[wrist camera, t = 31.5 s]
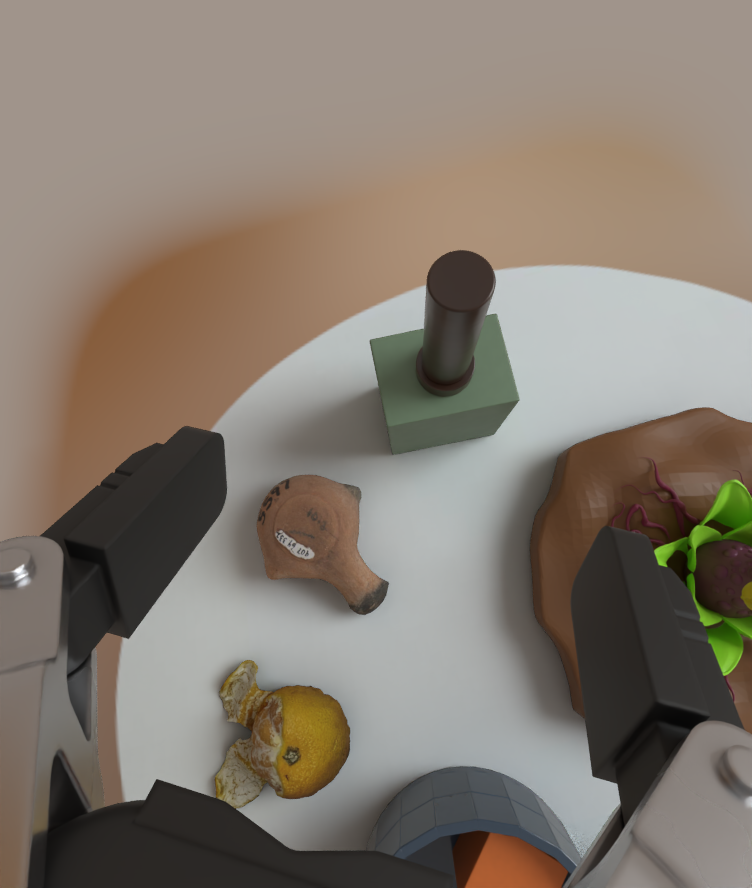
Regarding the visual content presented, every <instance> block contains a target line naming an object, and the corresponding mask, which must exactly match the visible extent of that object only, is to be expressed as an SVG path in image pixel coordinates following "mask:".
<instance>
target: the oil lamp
mask: <svg viewBox="0 0 752 888" xmlns="http://www.w3.org/2000/svg"><path fill="white" fill-rule="evenodd" d="M360 499H361V491H360V489H359V488H358V487H355V486H351V485H347V484H341V483H337V482H335V481H332V480H329V479H327V478H324V477H320V476H317V475H299V476H294V477H291V478H289V479H286V480H284V481H282V482H281V483H279V484H278V485H276V486H275V487H274V488H273V489H272V490H271V491H270V492H269V493H268V495H267V496H266V498H265V499H264V501H263V503H262V505H261V508H260V511H259V515H258V520H257V532H258V538H259V541H260V544H261V549H262V552H263V557H264V562H265V569H266V574H267V576H268V578H270V579H272V580H277V579H282V578H311V579H312V578H317V579H322V580H325V581H327V582H329V583H331V584H332V585H334V586H335V587H336V588H337V589H338V590H339V591H340V592H341V593H342V595H343V596H344V598H345V599H346V601H347V602H348V604H349V606H350V608H351V609H352V610H353V611H354V612H356V613H358V614H362V615H366V614H368V613H371V612H372V611H373V610H375V609H376V608H377V607H378V606H379V605H380V604H381V603H382V602H383V600H384V598H385V596H386V593H387V588H388V585H389V583H388V582H387V581H385V580H383V579H381V578H379V577H378V576H377V575H375V574H374V573H373V572H372V571H371V570H370V569H369V568H368V567H367V565H366V564H365V563H364V561H363V559H362V558H361V556H360V554H359V552H358V549H357V540H358V535H359V502H360Z"/></svg>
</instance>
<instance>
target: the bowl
mask: <svg viewBox="0 0 752 888" xmlns="http://www.w3.org/2000/svg"><path fill="white" fill-rule="evenodd" d="M478 830H479V831H485V832H490V833H496V834H502V835H507V836H513V837H518V838H520V839H521V840H523V841H525V842H527V843H529V844H531V845H532V846H534V847H536V848H538V849H540V850H541V851H543V852H545V853H547V854H549V855H551V856H552V857H554V858H555V859H556V860H557V861H558V862H559V863H560V864H561V865H562V866H563V867H564V868H565V869H566V870H567V871H568V873H567V876H566V878H565V880H564V882H563V885H562V887H561V888H563V886H564V885H565V883H566V882H567V880H568V879H569V877H570V876H571V874H572V873H573V871H574V870H575V868H576V867H577V865H578V864H579V862H580V861H581V859H582V858H581V856H580V855H579V853H578V851H577V849H576V847H575V846H574V844H573V842H572V840H571V838H570V837H569V835H568V833H567V831H566V829H565V828H564V826H563V824H562V822H561V821H560V820H559V819H558V818H557V816H556V815H555V814H554V812H553V811H552V810H551V809H550V808H549V807H548V805H547V804H546V803H545V802H544V801H543V800H542V799H541V798H540V797H539V796H537V795H536V794H535V793H534V792H533V791H531V790H530V789H529V788H527V787H526V786H524V785H523V784H521V783H520V782H518V781H517V780H515V779H512V778H510V777H508V776H506V775H504V774H501V773H498V772H495V771H492V770H489V769H483V768H478V767H453V768H446V769H442V770H438V771H435V772H432V773H430V774H427V775H425V776H423V777H421V778H419V779H417V780H416V781H414V782H412V783H411V784H409V785H408V786H407V787H406V788H404V789H403V790H402V791H401V792H399V793H398V794H397V795H396V797H395V798H394V799H393V800H392V801H391V802H390V803H389V804H388V806H387V807H386V808H385V810H384V811H383V813H382V814H381V816H380V817H379V819H378V821H377V823H376V825H375V827H374V829H373V831H372V834H371V836H370V839H369V842H368V844H367V848H366V851H380V852H383V853H386V854H389V855H392V856H395V857H398V858H401V859H404V860H407V861H411V862H414V863H417V864H420V865H423V866H426V867H429V868H432V869H435V870H438V871H441V872H444V873H447V874H451V875H454V878H453V888H457V882H456V875H455V868H454V860H453V853H452V850H453V848H454V846H455V844H456V842H457V840H458V838H459V835H460V834H461V833H467V832H472V831H478Z"/></svg>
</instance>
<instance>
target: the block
mask: <svg viewBox="0 0 752 888" xmlns="http://www.w3.org/2000/svg"><path fill="white" fill-rule="evenodd" d="M452 853H453V860H454V868H455V875H456V882H457V888H561V887H562V885H563V882H564V880H565V878H566V876H567V873H568V871H567V870H566V869H565V868H564V867H563V866H562V865H561V864H560V863H559V862H558V861H557V860H556V859H555V858H554V857H552V856H551V855H549V854H547V853H545V852H543V851H541V850H540V849H538V848H536V847H534V846H532V845H531V844H529V843H527V842H525V841H523V840H521V839H520V838H518V837H513V836H507V835H502V834H496V833H490V832H485V831H479V830H478V831H472V832H467V833H461V834H460V835H459V838H458V840H457V842H456V844H455V846H454V848H453V850H452Z"/></svg>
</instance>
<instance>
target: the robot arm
mask: <svg viewBox="0 0 752 888" xmlns="http://www.w3.org/2000/svg"><path fill="white" fill-rule="evenodd" d="M226 494H227V481H226V465H225V449H224V440H223V437H222V435H221V434H219V433H215V432H211V431H207V430H202V429H198V428H194V427H189V426H185V427H182V428H181V429H180V430H179V431H178V432H177V433H176V434H174V435H173V437H171V438H170V439H169V440H168V441H167V442H166V443H165V444H160V443H155V444H153V445H151V446H149V447H147V448H145V449H143V450H141V451H138V452H136V453H134V454H132V455H131V456H130V457H129V458H128V459H127V460H126V461H124V462H123V463H122V464H121V465H120V466H119V467H118V468H116V470H115V473H111V474H110V475H108V476H107V477H106V478H105V479H104V480H103V481H102V482H101V485H100V486H98V485H97V486H96V487H95V488H94V489H93V490H91V491H90V492H89V493H88V494H87V495H86V496H85V497H84V498H82V500H80V501H79V502H78V503H77V504H76V505H75V506H73V508H71V509H70V510H69V511H68V512H67V513H65V514H64V515H63V516H62V517H61V518H60V519H59V520H58V521H57V522H55V523H54V524H53V525H52V526H51V527H50V528H49V529H48V530H46V531H45V532H44V533H43V534H42V535H40V536H22V537H16V538H12V539H8V540H5V541H2V542H0V888H453V878H454V875H451V874H447V873H444V872H441V871H438V870H435V869H432V868H429V867H426V866H423V865H420V864H417V863H414V862H411V861H407V860H404V859H401V858H398V857H395V856H392V855H389V854H386V853H383V852H380V851H295V850H292V849H290V848H288V847H286V846H285V845H283V844H282V843H281V842H279V841H278V840H277V839H275V838H274V837H273V836H271V835H270V834H269V833H267V832H266V831H265V830H263V829H262V828H261V827H259V826H258V825H256V824H255V823H254V822H252V821H251V820H250V819H248V818H247V817H246V816H244V815H243V814H242V813H240V812H239V811H238V810H236V809H235V808H234V807H232V806H231V805H230V804H228V803H227V802H226V801H223V800H219V799H216V798H213V797H210V796H207V795H204V794H201V793H198V792H195V791H192V790H189V789H186V788H182V787H179V786H176V785H173V784H170V783H167V782H164V781H161V780H158V779H156V781H155V783H154V785H153V787H152V789H151V791H150V792H149V794H148V796H147V798H146V800H137V801H130V802H124V803H117V804H114V805H110V806H107V807H105V806H104V792H103V783H102V776H101V771H100V766H99V759H98V746H97V654H96V649H95V647H96V645H97V644H98V643H99V642H100V640H101V639H102V638H103V636H104V635H105V634H106V633H111V634H114V635H118V636H121V637H124V638H128V639H129V638H130V636H131V635H132V634H133V632H134V631H135V629H136V628H137V627H138V625H139V624H140V623H141V621H142V620H143V619H144V617H145V616H146V614H147V613H148V612H149V610H150V609H151V608H152V606H153V605H154V604H155V602H156V601H157V599H158V598H159V597H160V595H161V594H162V593H163V591H164V590H165V589H166V587H167V586H168V584H169V583H170V582H171V580H172V579H173V578H174V576H175V575H176V574H177V572H178V571H179V569H180V568H181V567H182V565H183V564H184V563H185V561H186V560H187V559H188V557H189V556H190V555H191V553H192V552H193V550H194V549H195V548H196V546H197V545H198V544H199V542H200V541H201V540H202V538H203V537H204V535H205V534H206V533H207V531H208V530H209V529H210V527H211V526H212V525H213V523H214V522H215V520H216V519H217V518H218V516H219V515H220V513H221V511H222V509H223V506H224V503H225V500H226ZM570 606H571V615H572V622H573V630H574V637H575V645H576V653H577V660H578V668H579V676H580V683H581V691H582V699H583V706H584V714H585V722H586V729H587V737H588V744H589V752H590V760H591V767H592V775H593V777H596V778H600V779H603V780H607V781H610V782H613V783H617V784H618V790H619V796H620V802H621V803H620V804H619V805H618V806H617V807H616V808H615V810H614V811H613V812H612V814H611V815H610V817H609V818H608V820H607V821H606V823H605V824H604V826H603V827H602V829H601V830H600V832H599V834H598V835H597V837H596V838H595V840H594V841H593V843H592V844H591V846H590V847H589V849H588V850H587V852H586V853H585V855H584V856H583V858H582V859H581V861H580V862H579V864H578V865H577V867H576V868H575V870H574V871H573V873H572V874H571V876H570V877H569V879H568V880H567V882H566V883H565V885H564V886H563V888H752V734H750V733H748V732H747V731H745V729H744V727H743V724H742V722H741V719H740V717H739V714H738V712H737V709H736V706H735V704H734V701H733V699H732V696H731V694H730V691H729V689H728V686H727V683H726V681H725V678H724V676H723V673H722V671H721V668H720V666H719V663H718V660H717V658H716V655H715V653H714V650H713V648H712V645H711V644H710V643H708V639H709V637H708V635H707V632H706V630H705V627H704V625H703V622H700V614H699V612H698V609H697V607H696V604H695V602H694V599H693V597H692V594H691V592H690V591H689V589H688V588H687V587H686V586H685V584H684V583H683V582H682V581H681V580H680V578H679V577H678V576H677V575H676V573H675V572H674V571H673V570H672V569H671V568H669V567H665V566H661V565H659V564H658V561H657V558H656V555H655V553H654V550H653V547H652V544H651V541H650V539H649V537H648V536H647V535H644V534H640V533H636V532H632V531H627V530H623V529H619V528H615V527H610V526H604V527H603V528H601V530H600V531H599V533H598V534H597V536H596V538H595V540H594V542H593V544H592V546H591V548H590V550H589V552H588V554H587V556H586V557H585V559H584V561H583V563H582V565H581V567H580V569H579V571H578V573H577V575H576V577H575V579H574V582H573V586H572V591H571V600H570Z"/></svg>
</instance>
